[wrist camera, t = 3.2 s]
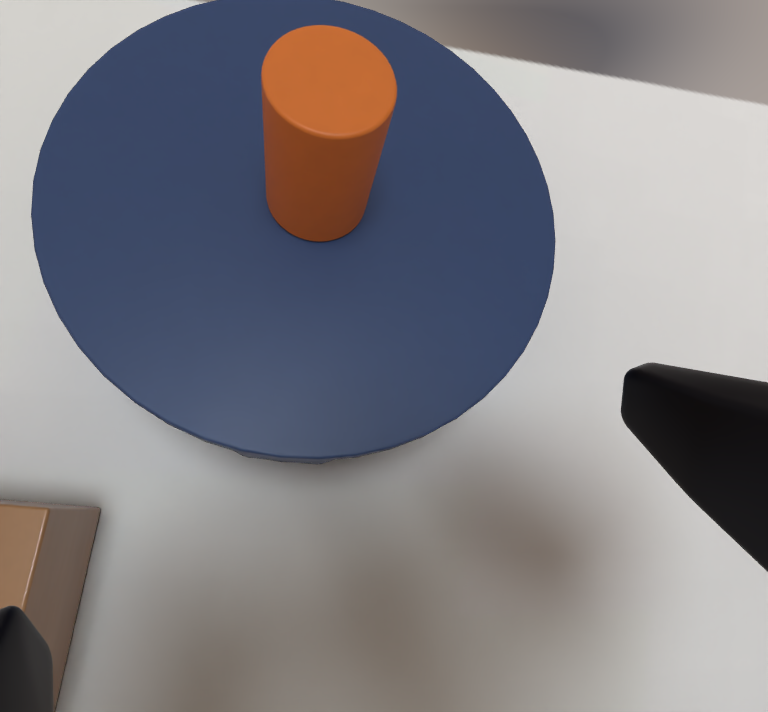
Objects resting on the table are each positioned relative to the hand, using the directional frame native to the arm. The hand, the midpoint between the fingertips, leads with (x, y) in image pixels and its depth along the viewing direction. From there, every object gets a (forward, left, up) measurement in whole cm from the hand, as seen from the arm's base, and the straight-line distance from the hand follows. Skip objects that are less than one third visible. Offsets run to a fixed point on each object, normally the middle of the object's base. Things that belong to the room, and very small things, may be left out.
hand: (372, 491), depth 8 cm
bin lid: (+1, -8, -6) cm, 10 cm away
